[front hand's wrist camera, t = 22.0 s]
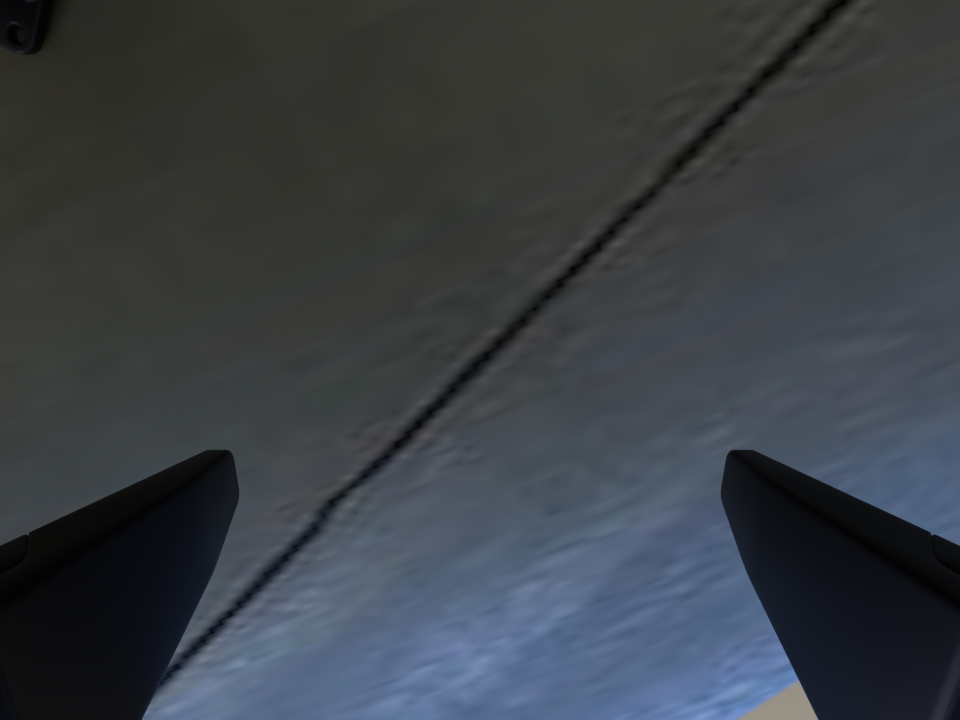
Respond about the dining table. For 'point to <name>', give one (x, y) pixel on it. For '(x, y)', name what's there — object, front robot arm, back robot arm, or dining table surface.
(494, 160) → the dining table surface
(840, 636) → the front robot arm
